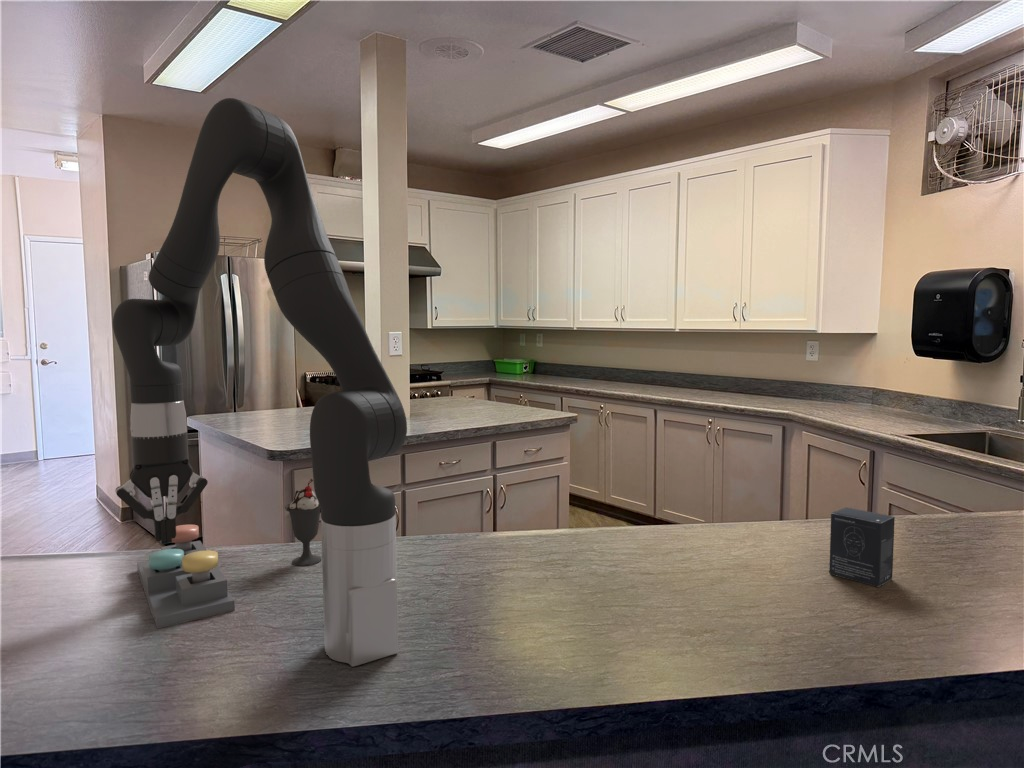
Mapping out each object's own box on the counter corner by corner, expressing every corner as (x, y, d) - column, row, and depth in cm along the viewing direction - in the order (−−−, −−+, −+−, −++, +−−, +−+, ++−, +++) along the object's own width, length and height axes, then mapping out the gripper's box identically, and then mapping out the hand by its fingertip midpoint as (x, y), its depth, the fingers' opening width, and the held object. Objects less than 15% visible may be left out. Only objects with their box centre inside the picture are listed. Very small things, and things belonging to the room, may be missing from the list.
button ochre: (221, 584, 96) (220, 557, 96) (186, 591, 93) (184, 564, 93) (215, 574, 100) (214, 548, 100) (180, 581, 97) (179, 554, 97)
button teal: (187, 580, 101) (186, 555, 100) (152, 588, 98) (150, 561, 98) (182, 571, 105) (181, 546, 104) (148, 578, 102) (146, 552, 102)
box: (892, 579, 106) (895, 516, 105) (878, 588, 102) (881, 522, 101) (843, 566, 112) (845, 505, 111) (827, 574, 108) (830, 511, 107)
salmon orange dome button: (202, 553, 109) (200, 529, 109) (169, 559, 107) (168, 535, 106) (196, 545, 113) (195, 522, 113) (165, 551, 110) (164, 527, 110)
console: (234, 610, 95) (233, 583, 95) (157, 628, 89) (155, 600, 89) (201, 558, 116) (200, 536, 116) (137, 570, 111) (136, 547, 110)
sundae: (320, 568, 112) (317, 482, 110) (281, 567, 112) (278, 481, 110) (331, 554, 118) (329, 473, 117) (294, 554, 118) (292, 473, 117)
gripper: (110, 438, 93) (118, 557, 94) (211, 429, 100) (217, 540, 101) (107, 432, 99) (114, 544, 100) (202, 424, 106) (207, 528, 108)
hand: (166, 542), depth 101 cm, fingers closed
